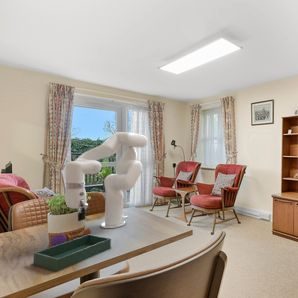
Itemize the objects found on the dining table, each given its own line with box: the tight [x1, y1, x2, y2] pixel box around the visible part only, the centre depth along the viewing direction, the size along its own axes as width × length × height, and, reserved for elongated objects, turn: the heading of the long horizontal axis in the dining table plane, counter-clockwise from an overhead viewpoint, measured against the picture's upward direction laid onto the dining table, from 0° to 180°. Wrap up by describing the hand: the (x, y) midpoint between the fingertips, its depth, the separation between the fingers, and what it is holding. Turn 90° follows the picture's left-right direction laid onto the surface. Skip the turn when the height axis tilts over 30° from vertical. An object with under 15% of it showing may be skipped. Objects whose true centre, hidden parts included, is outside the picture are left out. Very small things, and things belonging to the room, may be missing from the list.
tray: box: [32, 233, 112, 272], centre depth 100 cm, size 23×14×5 cm, turn 161°
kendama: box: [49, 227, 92, 247], centre depth 115 cm, size 6×6×20 cm
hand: (74, 218), depth 116 cm, fingers open, 9 cm apart
